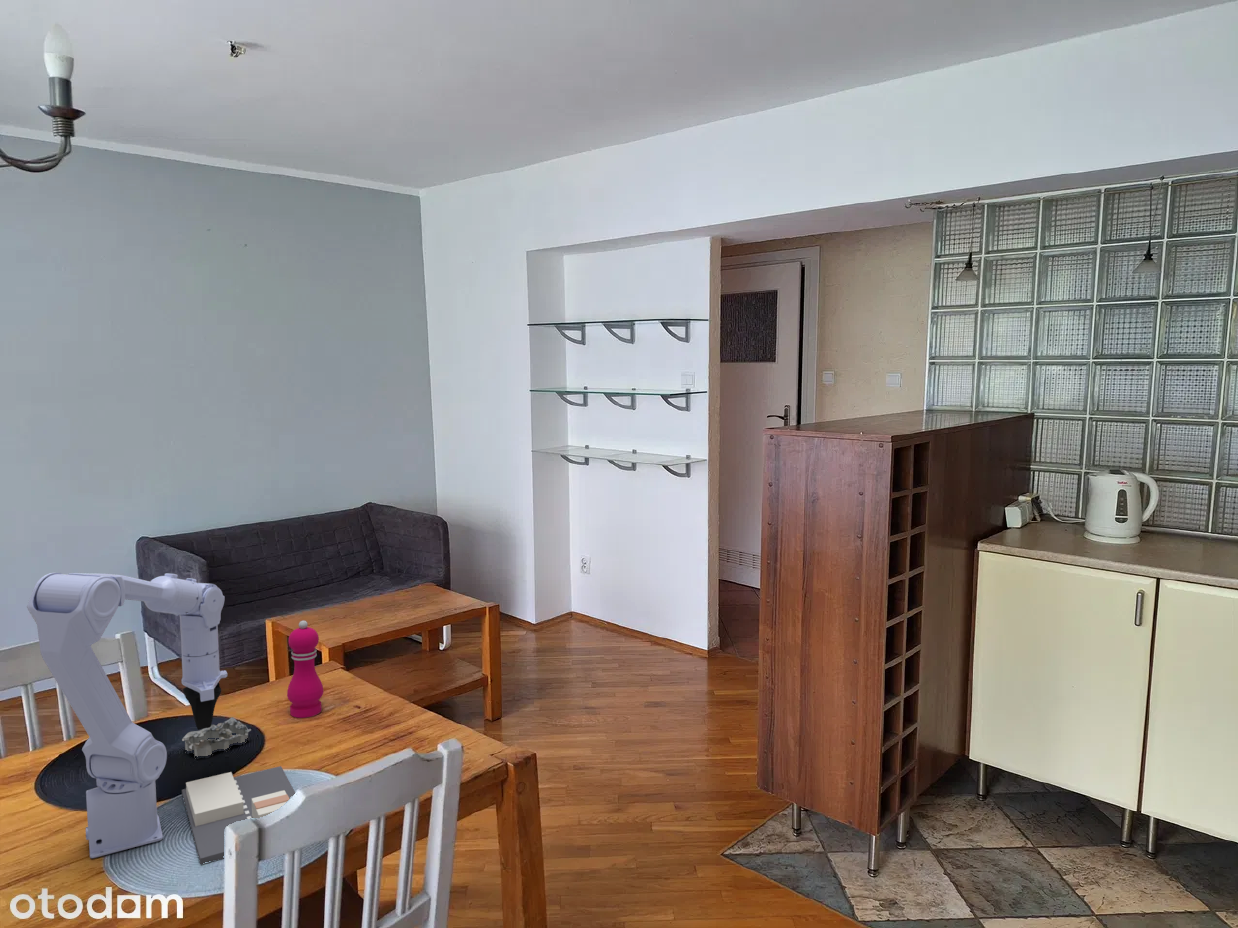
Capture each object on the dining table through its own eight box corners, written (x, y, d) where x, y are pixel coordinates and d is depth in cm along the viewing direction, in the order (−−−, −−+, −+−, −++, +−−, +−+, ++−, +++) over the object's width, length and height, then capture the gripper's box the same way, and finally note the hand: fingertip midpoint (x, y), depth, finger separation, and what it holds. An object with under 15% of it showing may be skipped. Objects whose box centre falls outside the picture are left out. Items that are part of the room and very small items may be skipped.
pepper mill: (286, 708, 178) (283, 617, 176) (322, 703, 181) (319, 614, 179) (288, 721, 172) (285, 627, 169) (325, 715, 175) (322, 623, 172)
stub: (259, 833, 128) (258, 813, 128) (252, 816, 133) (251, 797, 133) (293, 824, 131) (292, 804, 130) (285, 807, 136) (284, 788, 135)
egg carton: (198, 763, 154) (196, 742, 153) (180, 751, 158) (178, 731, 158) (253, 743, 162) (253, 723, 161) (235, 732, 166) (234, 713, 166)
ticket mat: (200, 864, 121) (199, 845, 121) (182, 795, 141) (181, 778, 141) (313, 832, 130) (313, 814, 130) (281, 771, 150) (280, 755, 150)
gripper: (232, 659, 139) (235, 737, 140) (219, 636, 151) (222, 707, 152) (185, 667, 135) (189, 746, 136) (175, 642, 147) (179, 716, 148)
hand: (203, 727), depth 144 cm, fingers closed
